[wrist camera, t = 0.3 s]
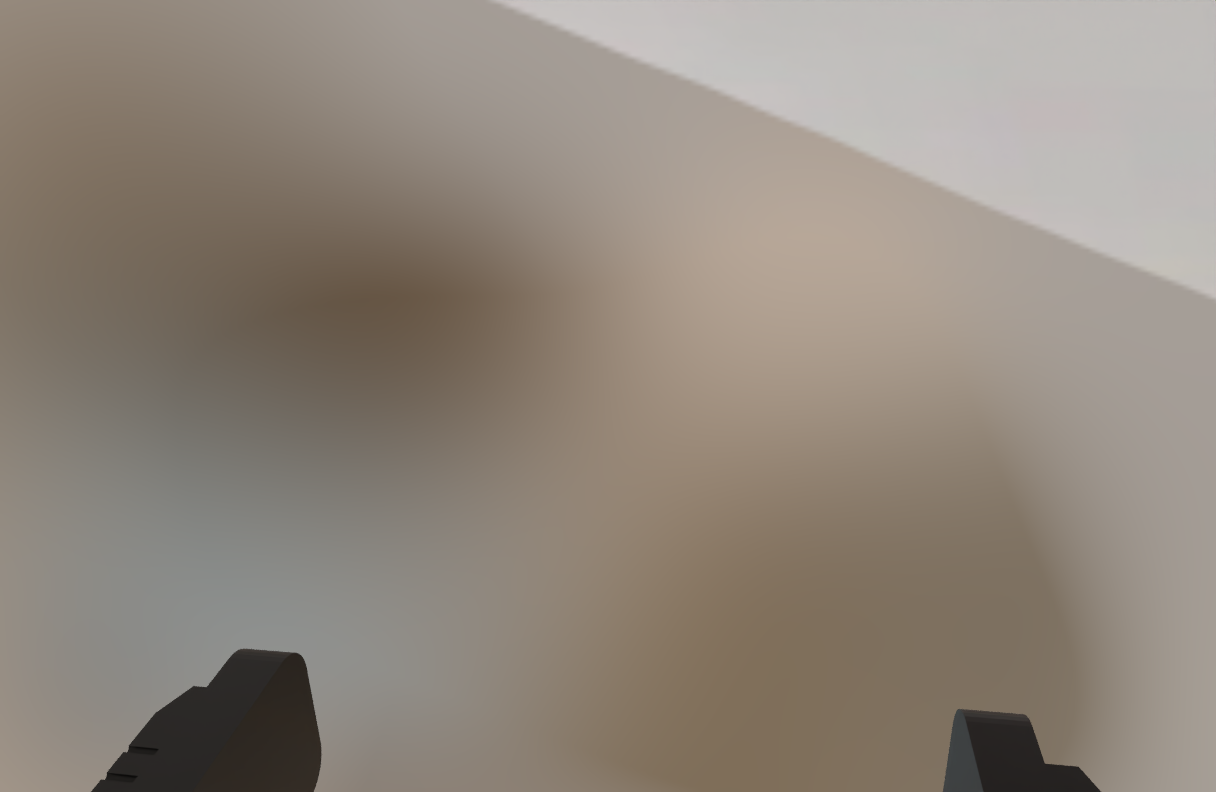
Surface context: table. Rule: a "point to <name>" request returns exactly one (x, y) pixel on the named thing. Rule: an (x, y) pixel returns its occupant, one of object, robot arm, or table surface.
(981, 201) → the table surface
